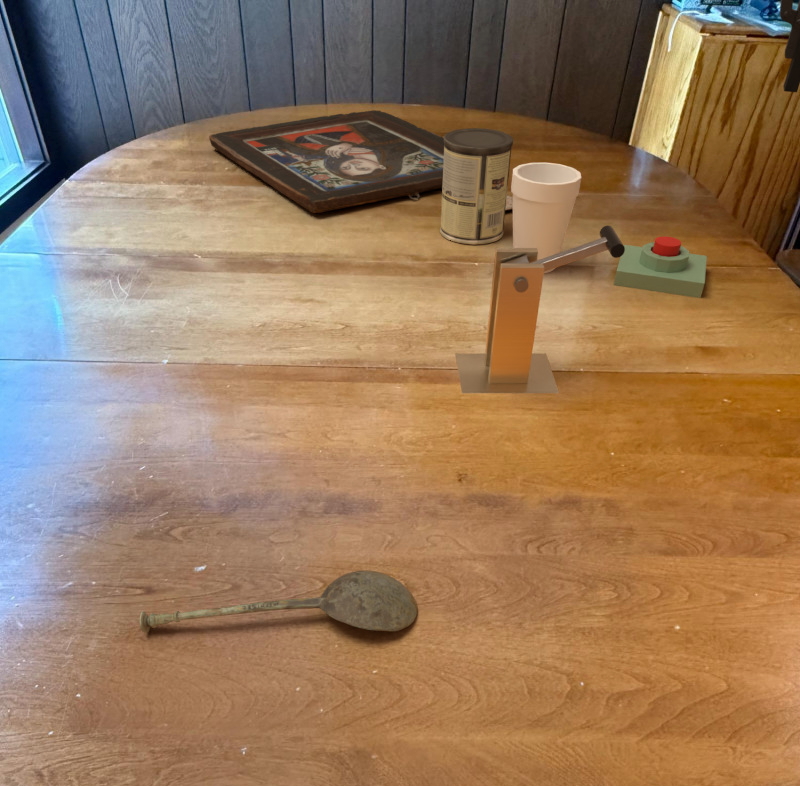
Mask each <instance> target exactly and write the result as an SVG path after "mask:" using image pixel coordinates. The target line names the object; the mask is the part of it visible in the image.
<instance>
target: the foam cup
mask: <svg viewBox="0 0 800 786" xmlns="http://www.w3.org/2000/svg"><path fill="white" fill-rule="evenodd" d="M581 182H582V174H581V171H579V170H577V169H576V168H575V167H572V166H568V165H564V164H560V163H553V162H544V161H543V162H529V163H528V162H527V163H523V164H519V165H517V166H516V167H514V168H512V175H511V185H510V192H511V193H512V197H513V209H512V248H537V250H538V257H537V260H540V259H543V258H546V257H549V256H552V255H554V254H557V253H560V252H562V249H563V245H564V241H565V238H566V234H567V231H568V227H569V224H570V221H571V217H572V213H573V210H574V207H575V203H576V200H577V197H578V196H579V194H580V189H581ZM555 269H556V268H554V269H551V270H548V271H545V272H544V274H548V273H551V272H553V271H554V270H555Z"/></svg>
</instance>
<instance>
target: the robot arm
mask: <svg viewBox="0 0 800 786" xmlns="http://www.w3.org/2000/svg"><path fill="white" fill-rule="evenodd" d="M779 5H780V8H779V15H780V20H781V21H783V22H784V21H785V22H786V23H788V24H789V25H790V26H791V28H790V31H789V36H788V39H787V42H786V45H785V49H784V59H789V60H791V61H790V64H789V66H788V70H787V73H786V76H785V79H784V83H783V86H782V87H783V92H788V93H798V90H799V87H800V0H799V1H798V4H797V7H796V9H795V8H793V6H794V0H780V4H779Z"/></svg>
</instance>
